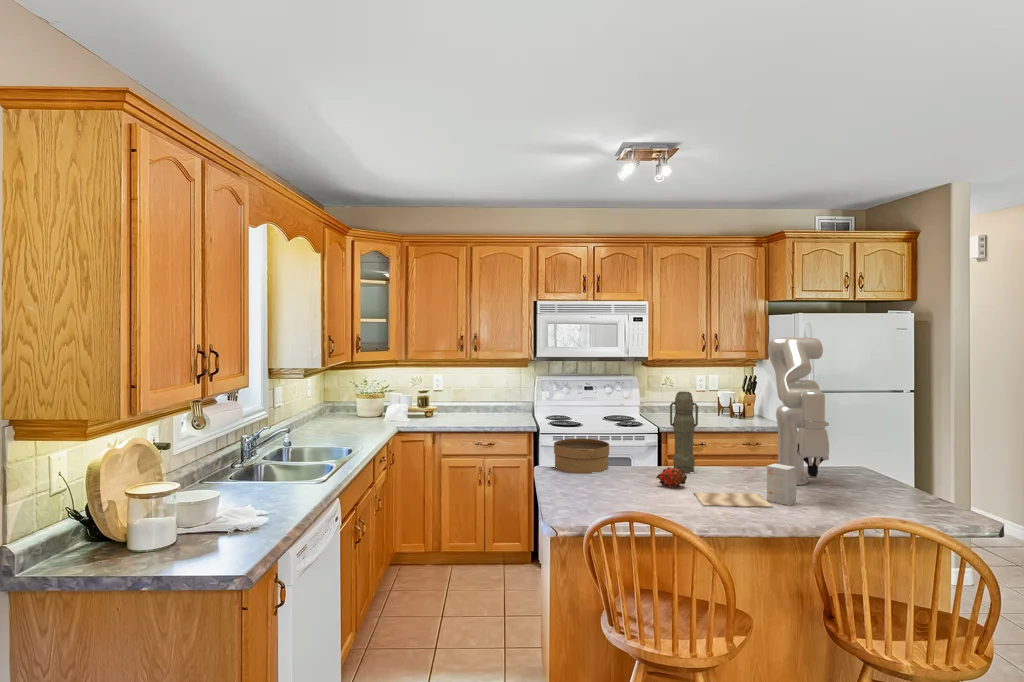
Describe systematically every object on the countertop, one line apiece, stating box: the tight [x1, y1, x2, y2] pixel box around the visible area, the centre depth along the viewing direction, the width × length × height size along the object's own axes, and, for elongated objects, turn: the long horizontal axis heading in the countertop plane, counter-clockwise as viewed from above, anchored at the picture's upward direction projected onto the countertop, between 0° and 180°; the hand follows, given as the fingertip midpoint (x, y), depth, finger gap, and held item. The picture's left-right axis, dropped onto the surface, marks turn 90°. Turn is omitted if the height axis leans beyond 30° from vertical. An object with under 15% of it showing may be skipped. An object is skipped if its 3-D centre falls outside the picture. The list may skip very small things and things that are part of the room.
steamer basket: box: [553, 438, 610, 474], centre depth 273 cm, size 25×25×11 cm
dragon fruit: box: [655, 466, 688, 489], centre depth 239 cm, size 8×8×12 cm
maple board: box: [693, 491, 774, 508], centre depth 219 cm, size 24×16×1 cm, turn 85°
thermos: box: [669, 391, 699, 474], centre depth 265 cm, size 9×12×35 cm
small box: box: [766, 463, 797, 506], centre depth 218 cm, size 8×6×13 cm
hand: (812, 476), depth 217 cm, fingers closed
